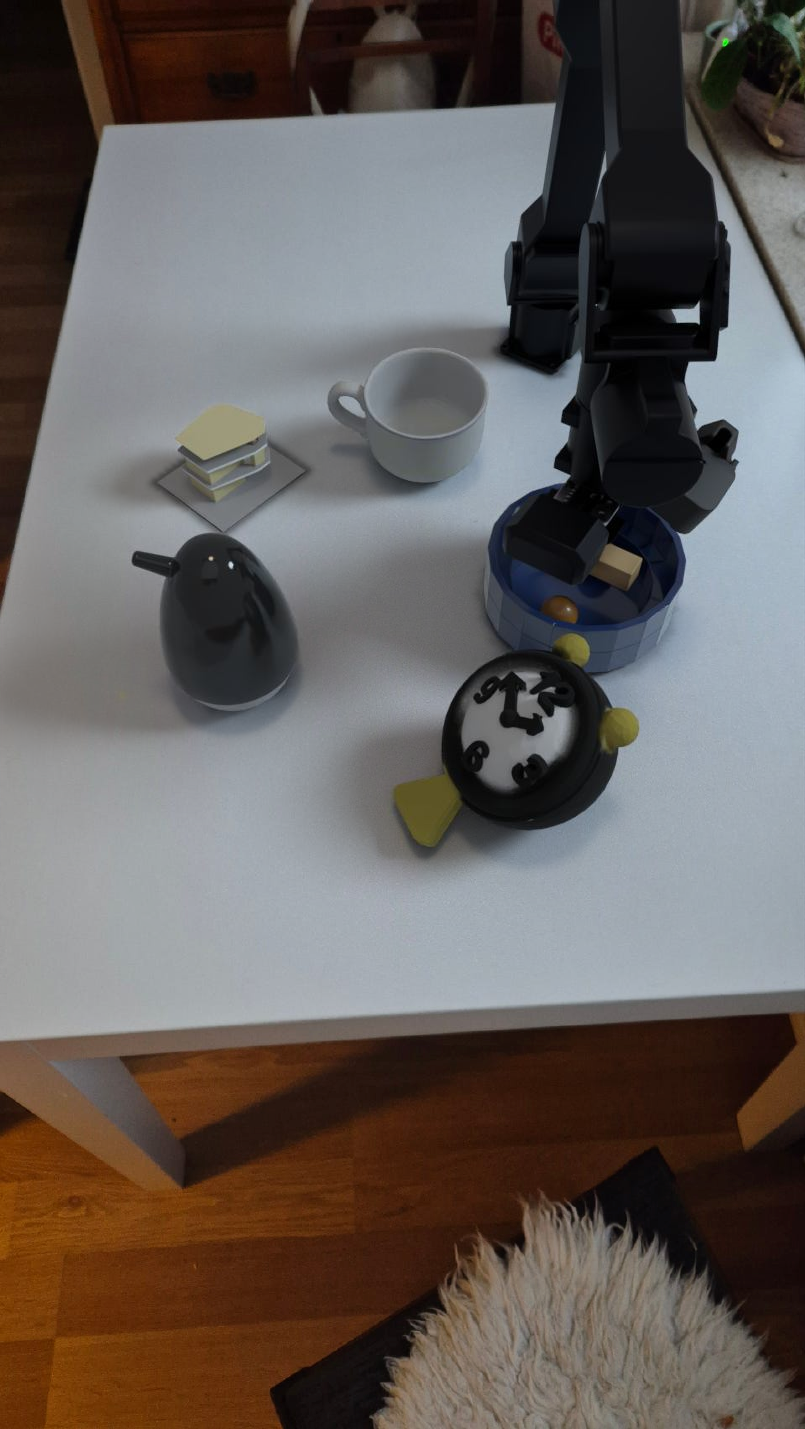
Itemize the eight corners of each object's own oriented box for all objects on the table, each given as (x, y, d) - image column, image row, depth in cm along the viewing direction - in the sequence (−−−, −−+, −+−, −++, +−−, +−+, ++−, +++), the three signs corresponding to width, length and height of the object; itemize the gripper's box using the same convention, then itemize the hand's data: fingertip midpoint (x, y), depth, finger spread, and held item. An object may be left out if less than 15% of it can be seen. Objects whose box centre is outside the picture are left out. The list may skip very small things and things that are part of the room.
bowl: (449, 623, 82) (451, 576, 77) (539, 508, 89) (547, 457, 84) (617, 708, 78) (631, 663, 73) (698, 579, 85) (717, 530, 79)
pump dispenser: (182, 623, 83) (139, 489, 70) (308, 625, 82) (289, 492, 69) (162, 729, 77) (112, 605, 64) (298, 732, 77) (274, 608, 64)
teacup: (497, 432, 94) (504, 361, 87) (463, 513, 89) (467, 444, 82) (358, 400, 97) (353, 329, 90) (316, 477, 91) (308, 407, 85)
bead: (531, 630, 81) (535, 606, 79) (549, 605, 82) (553, 581, 80) (564, 646, 80) (569, 623, 78) (581, 621, 82) (587, 597, 79)
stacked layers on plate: (223, 532, 88) (213, 486, 83) (157, 482, 91) (143, 436, 87) (305, 471, 92) (299, 424, 87) (239, 425, 95) (229, 378, 90)
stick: (535, 549, 80) (538, 532, 78) (547, 533, 81) (550, 516, 79) (626, 592, 78) (631, 575, 76) (638, 575, 79) (643, 558, 77)
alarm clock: (426, 750, 80) (467, 584, 72) (602, 815, 78) (666, 650, 69) (373, 836, 71) (413, 656, 62) (571, 913, 68) (641, 736, 60)
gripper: (673, 534, 59) (626, 683, 72) (793, 356, 67) (730, 519, 80) (507, 461, 62) (491, 617, 75) (641, 300, 70) (605, 466, 84)
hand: (586, 553), depth 79 cm, fingers closed on stick, 2 cm apart
